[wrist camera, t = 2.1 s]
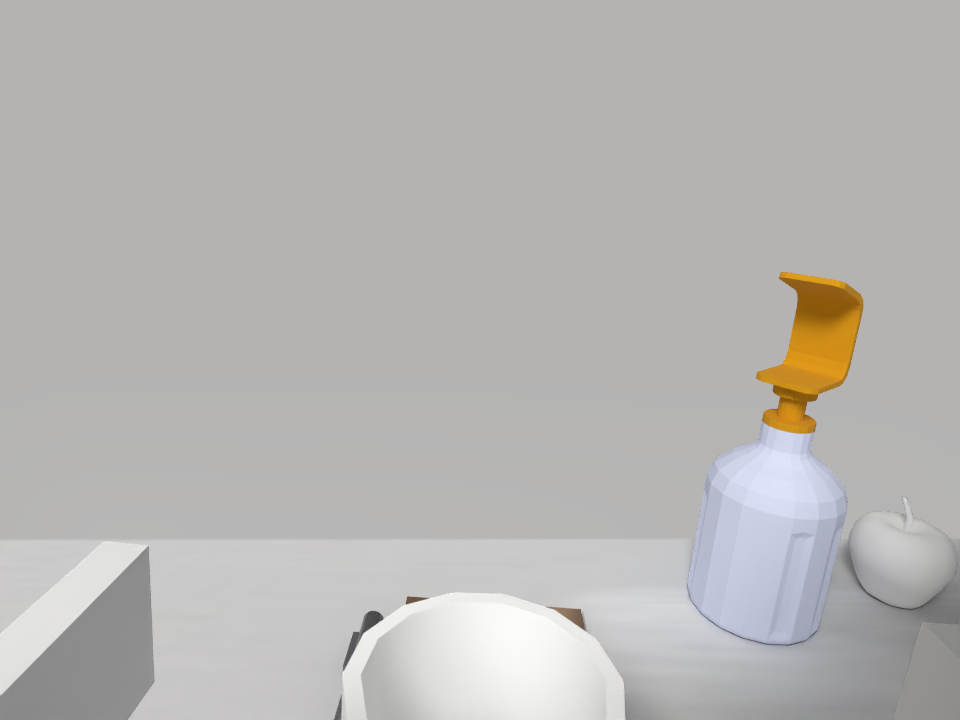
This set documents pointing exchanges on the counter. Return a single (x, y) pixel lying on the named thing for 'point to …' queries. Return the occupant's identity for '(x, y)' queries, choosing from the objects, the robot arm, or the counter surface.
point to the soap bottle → (779, 488)
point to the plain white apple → (901, 557)
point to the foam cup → (480, 665)
